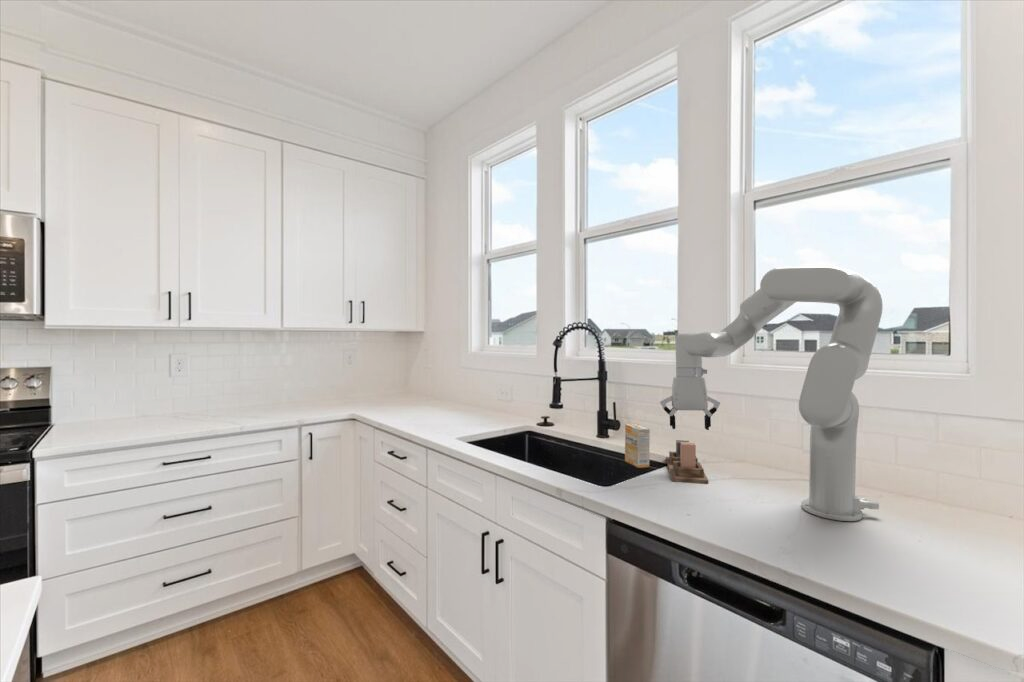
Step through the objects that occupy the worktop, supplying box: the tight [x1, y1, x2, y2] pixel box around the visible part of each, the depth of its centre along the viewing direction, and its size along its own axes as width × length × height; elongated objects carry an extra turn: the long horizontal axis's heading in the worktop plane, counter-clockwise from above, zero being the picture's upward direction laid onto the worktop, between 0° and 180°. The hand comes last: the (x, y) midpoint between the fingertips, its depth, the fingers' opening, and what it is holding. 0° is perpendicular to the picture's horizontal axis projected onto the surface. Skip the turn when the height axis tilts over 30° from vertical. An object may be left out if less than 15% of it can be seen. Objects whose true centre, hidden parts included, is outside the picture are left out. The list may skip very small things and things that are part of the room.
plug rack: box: [665, 439, 709, 485], centre depth 151 cm, size 10×24×8 cm, turn 167°
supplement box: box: [624, 423, 651, 469], centre depth 158 cm, size 8×5×13 cm, turn 17°
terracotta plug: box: [680, 441, 697, 468], centre depth 145 cm, size 4×4×9 cm
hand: (690, 428), depth 144 cm, fingers open, 9 cm apart
